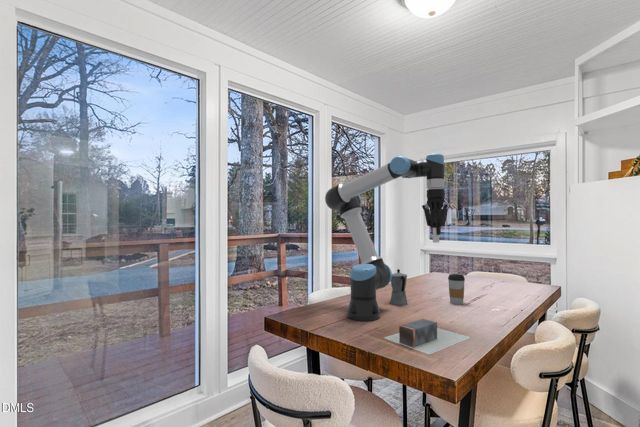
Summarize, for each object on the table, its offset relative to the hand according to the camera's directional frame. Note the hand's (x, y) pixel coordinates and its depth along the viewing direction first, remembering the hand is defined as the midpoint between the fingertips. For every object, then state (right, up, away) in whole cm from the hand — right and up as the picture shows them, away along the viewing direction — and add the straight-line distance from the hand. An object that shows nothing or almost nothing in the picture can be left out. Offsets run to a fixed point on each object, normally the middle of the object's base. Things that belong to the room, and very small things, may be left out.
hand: (436, 242), depth 151 cm
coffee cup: (+21, -35, +29) cm, 50 cm away
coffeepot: (-9, -35, +29) cm, 47 cm away
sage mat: (-12, -34, -24) cm, 43 cm away
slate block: (-10, -31, -23) cm, 39 cm away
